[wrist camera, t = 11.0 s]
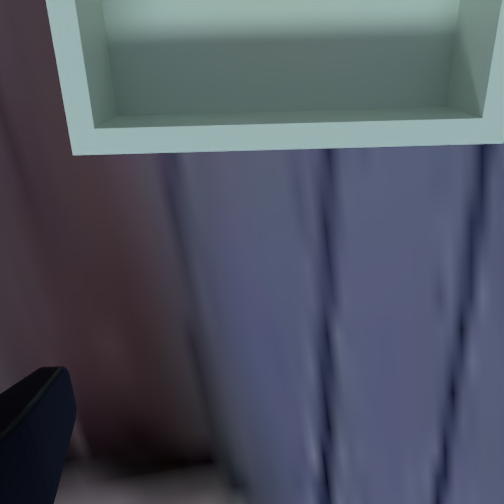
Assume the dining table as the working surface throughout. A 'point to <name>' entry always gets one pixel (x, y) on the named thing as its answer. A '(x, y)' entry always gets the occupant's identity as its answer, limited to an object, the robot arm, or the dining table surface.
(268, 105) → the parts tray
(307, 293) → the dining table surface
